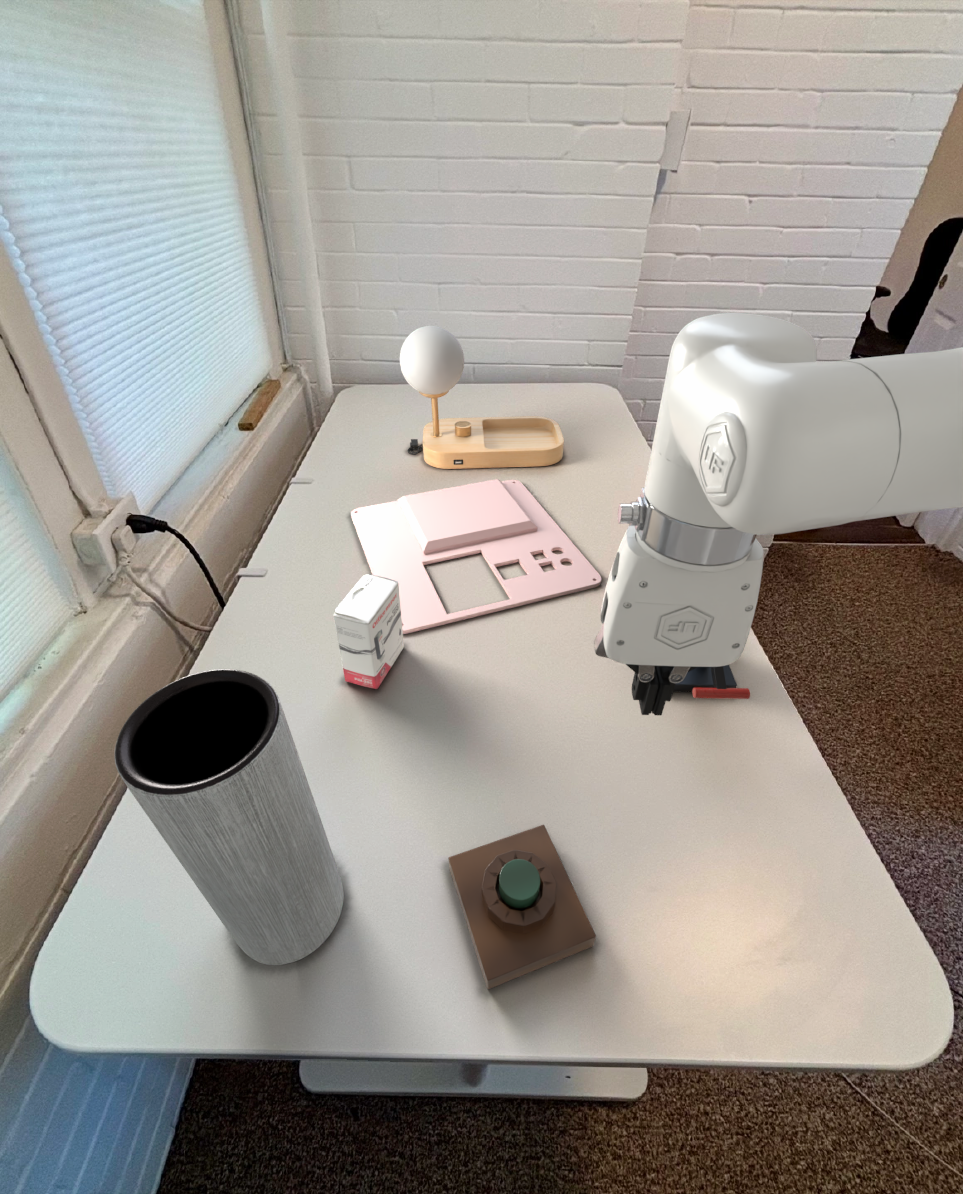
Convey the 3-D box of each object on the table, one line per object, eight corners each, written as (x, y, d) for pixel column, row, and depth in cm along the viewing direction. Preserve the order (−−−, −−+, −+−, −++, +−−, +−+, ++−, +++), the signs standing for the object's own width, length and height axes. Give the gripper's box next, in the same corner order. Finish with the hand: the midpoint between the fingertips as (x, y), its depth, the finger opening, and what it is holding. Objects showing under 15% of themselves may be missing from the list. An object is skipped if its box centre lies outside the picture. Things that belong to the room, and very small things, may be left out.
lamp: (554, 431, 135) (563, 312, 118) (566, 466, 121) (578, 338, 105) (409, 434, 134) (398, 315, 117) (405, 471, 120) (392, 341, 104)
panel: (349, 512, 108) (347, 501, 107) (517, 481, 117) (518, 470, 115) (394, 636, 83) (393, 624, 81) (604, 584, 91) (606, 573, 90)
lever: (744, 701, 67) (753, 695, 64) (691, 700, 67) (698, 694, 65) (723, 583, 73) (731, 574, 71) (675, 583, 73) (680, 574, 71)
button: (545, 900, 52) (547, 891, 51) (507, 915, 51) (508, 906, 50) (529, 862, 54) (530, 853, 53) (493, 875, 53) (493, 866, 52)
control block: (593, 946, 52) (599, 927, 50) (487, 990, 50) (487, 973, 47) (542, 835, 60) (545, 814, 58) (448, 867, 58) (447, 847, 55)
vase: (347, 848, 59) (289, 660, 42) (341, 958, 52) (267, 784, 34) (244, 860, 58) (142, 673, 41) (223, 974, 51) (85, 803, 33)
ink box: (379, 692, 75) (367, 622, 67) (344, 682, 76) (328, 613, 69) (407, 646, 81) (399, 578, 74) (374, 638, 82) (363, 570, 75)
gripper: (588, 551, 36) (563, 735, 48) (835, 557, 36) (749, 741, 48) (578, 491, 42) (558, 668, 54) (791, 494, 42) (724, 672, 53)
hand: (648, 702), depth 51 cm, fingers closed
